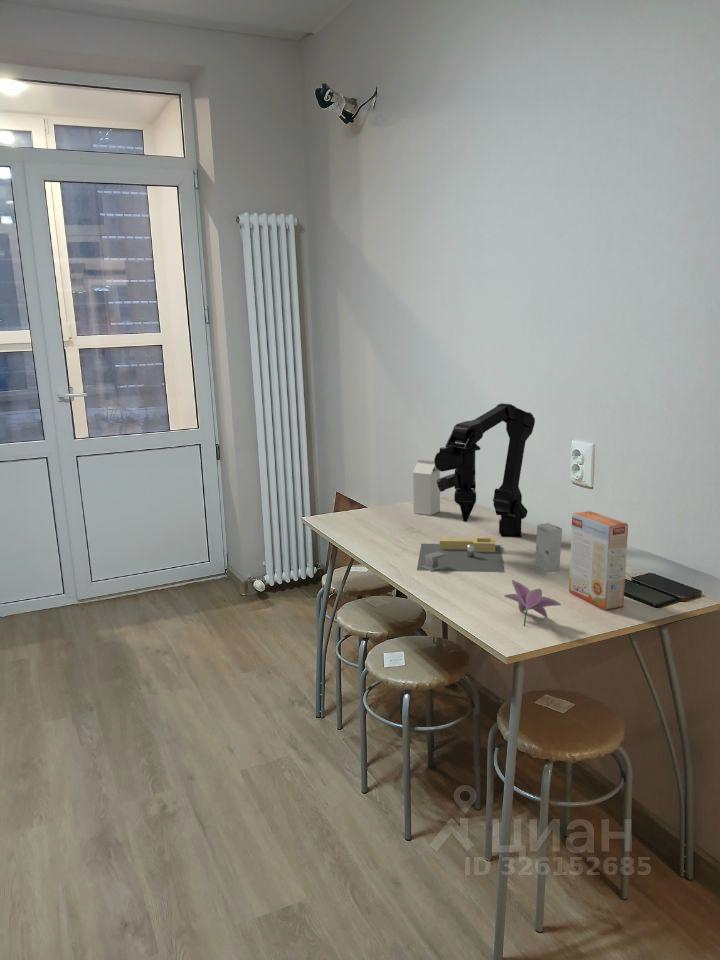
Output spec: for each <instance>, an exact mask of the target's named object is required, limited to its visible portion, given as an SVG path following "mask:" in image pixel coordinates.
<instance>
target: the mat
mask: <svg viewBox="0 0 720 960" xmlns="http://www.w3.org/2000/svg"><path fill="white" fill-rule="evenodd" d="M434 552H440V553H443V554H445V556H443V557H440V558H438V567H439V568H440V569H439V570H436V571H435V572H474V573H475V572H476V573H477V572H478V573H479V572H480V573H481V572H482V573H483V572H485V573H505V565H504V560H503V554H502V548H501V545H500V544H495V552H474V557H473V558H469V557H467V550H453V549H440V543H420V550H419V554H418V555H419V556H418V561H417V568H416V571H422V572H423V571H427V572H428V571H429V570H426V569H423V568H421V567H422V566H425V555H427V554H430V553H434ZM429 572H430V571H429Z"/></svg>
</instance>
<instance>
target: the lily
mask: <svg viewBox="0 0 720 960" xmlns="http://www.w3.org/2000/svg"><path fill="white" fill-rule="evenodd" d="M511 584H512V586H513V588H514V591H515V593H509V594H504V595H503V597H505V598H507V599H509V600H513V601H516V602H517V603H518V611H520V612H525V614H524V618H523V619H524V620H523V626H524V627H525V626H526V620H527V614H528V610H533V611H535V612H537V613H539V615H541V616H543V617H545V618H548V613H547V610H546V609H545V608H547V607H553V606H554V607H555V606H561V605H562V604H561V602H559V601H557V600H556V599H553V598H550V597H547V596H543V590H542V589H541V588H535V589H531V590H530V589H529V587H527V586H526V585H524V584H523V583H521V582H518V581H516V580H511Z"/></svg>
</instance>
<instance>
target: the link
mask: <svg viewBox="0 0 720 960" xmlns="http://www.w3.org/2000/svg"><path fill="white" fill-rule="evenodd" d="M439 544H440V549H453V550H467V545H469V544H472V545H474V552H495V545H496V539H495V537H493V536H492V537H491V536H487V537H486V536H472V538H460V537H459V538H457V537H456V538H455V537H451V538H450V537H449V538H448V537H439Z"/></svg>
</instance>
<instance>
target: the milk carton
mask: <svg viewBox="0 0 720 960" xmlns="http://www.w3.org/2000/svg"><path fill="white" fill-rule="evenodd" d="M439 478H441V471H439V470H438V469H437V468H436V466H435V462H434V460H424V459H417V463H416V465H415V467H414V470H413V471H412V485H413V486H412V490H413V491H412V492H413V493H412V498H413V500H412V501H413V503H412V507H413V510H412V511H413V514H419V515H426V516H433V515H434V514H436V513H438V512H440V511H441V492H440V490H439V488H438V485H437V482H436V481H437V479H439Z"/></svg>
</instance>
